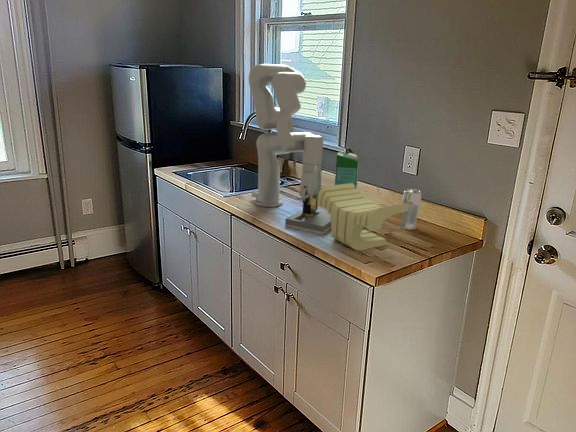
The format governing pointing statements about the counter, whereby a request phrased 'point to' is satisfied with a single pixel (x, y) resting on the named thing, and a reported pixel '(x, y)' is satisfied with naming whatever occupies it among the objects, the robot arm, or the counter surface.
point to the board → (310, 222)
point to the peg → (313, 207)
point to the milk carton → (347, 169)
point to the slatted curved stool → (355, 215)
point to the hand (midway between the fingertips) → (309, 211)
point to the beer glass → (411, 208)
